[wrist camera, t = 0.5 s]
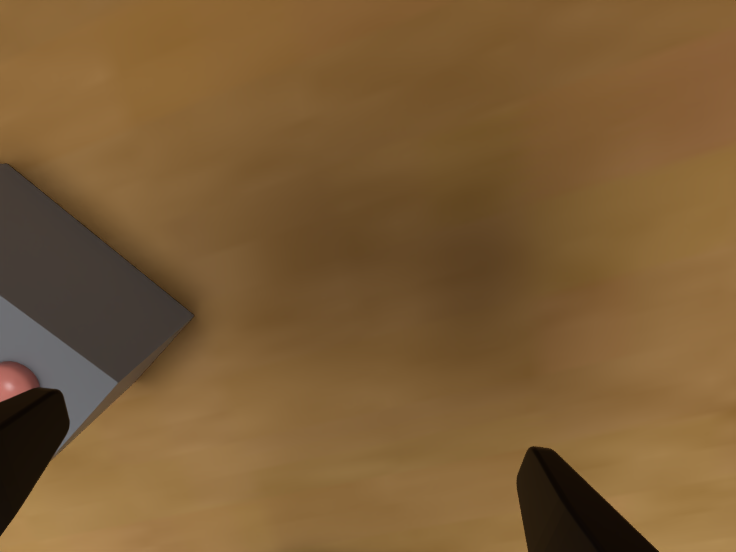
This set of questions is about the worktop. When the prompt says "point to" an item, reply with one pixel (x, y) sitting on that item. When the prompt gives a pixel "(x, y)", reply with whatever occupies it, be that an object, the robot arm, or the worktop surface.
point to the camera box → (72, 308)
